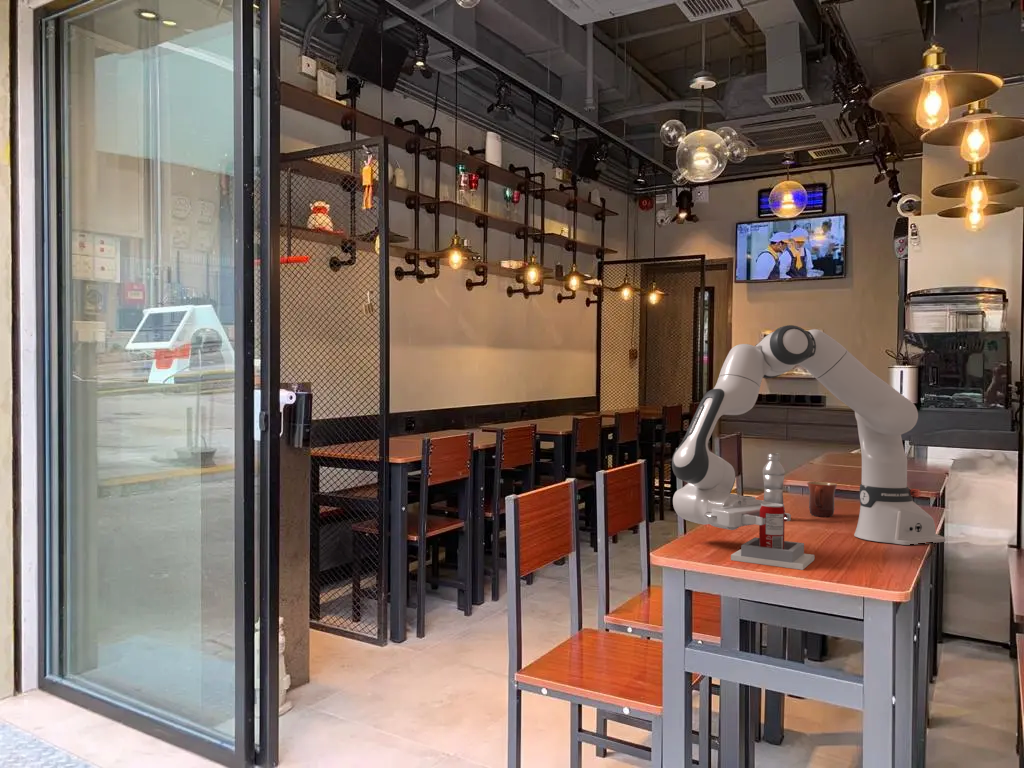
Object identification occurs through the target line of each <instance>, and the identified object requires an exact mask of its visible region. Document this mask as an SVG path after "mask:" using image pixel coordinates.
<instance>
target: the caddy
mask: <svg viewBox="0 0 1024 768" xmlns="http://www.w3.org/2000/svg"><path fill="white" fill-rule="evenodd" d="M740 548H741V549H739V550H737V551H735V552H733V553H732V554H730V561H734V562H742V563H743V562H744V563H749V564H756V565H757V564H758V565H764V566H765V565H766V566H772V567H780V568H787V569H794V570H801V571H803V570H805V568H807V567H808V566H810V564H812V563H813V562H814V561H815V554H810V553H805V542H798V541H797V542H796V541H789V540H784V549H777V548H769V547H761V546H759V537H753V538H751V539H749V540H747V541H746V542H745V543H743V544H741V546H740Z"/></svg>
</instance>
